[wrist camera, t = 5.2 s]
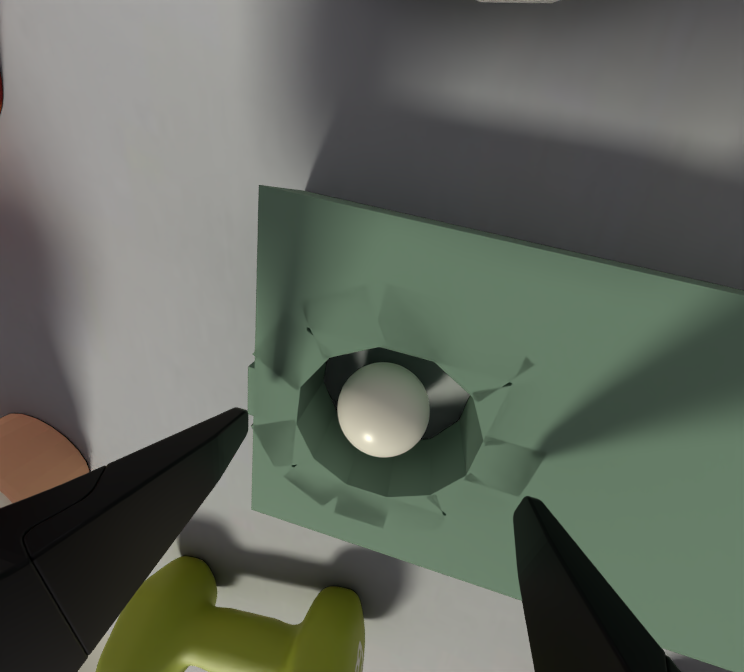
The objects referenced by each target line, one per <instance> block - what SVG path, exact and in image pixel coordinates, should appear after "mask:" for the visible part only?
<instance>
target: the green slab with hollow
mask: <svg viewBox="0 0 744 672" xmlns="http://www.w3.org/2000/svg"><path fill="white" fill-rule="evenodd" d="M376 347H381V348H385V349H389V350H393V351H396V352H400V353H404V354H407V355H411V356H415V357H418V358H422V359H426V360H429V361H433V362H435V363H436V364H437V365H438V366H439V367H440V368H441V369H443V370H444V371H445V372H446V373H447V374H448V375H449V376H450V377H451V378H452V379H453V380H454V381H456V382H457V383H458V384H459V385H460V386H461V387H462V388H463V389H464V390H465V391H466V392H467V393H469V394H470V397H469V399H468V401H467V404H466V406H465V408H464V410H463V413H462V415H461V417H460V420H459V421H458V422H456V423H454V424H453V425H451V426H450V427H448V428H447V429H445V430H444V431H442V432H441V433H439V434H438V435H436V436H435V437H433V438H432V439H426V440H419V442H418V443H417V444H416V445H415V446H413V447H412V448H411V449H410V450H408V451H406V452H405V453H402V454H400V455H397V456H393V457H376V456H371V455H368V454H366V453H364V452H362V451H360V450H359V449H357V448H356V447H355V446H353V445H352V444H351V443H350V441H349V440H348V439H347V438H346V436H345V435H344V433H343V431H342V429H341V426H340V423H339V419H338V412H337V411H336V409H335V407H334V405H333V402H332V400H331V398H330V395H329V393H328V391H327V389H326V386H325V384H324V382H323V380H324V374H325V367H326V361H327V360H328V359H329V358H330V357H335V356H340V355H344V354H349V353H353V352H358V351H362V350H367V349H372V348H376ZM253 355H254V356H255V361H254V362H253V363H252V364H251V365H250V366H249V367H248V414H250V415H253V416H254V419H253V424H252V425H251V427H252V428H253V463H252V507H251V509H252V510H255V511H257V512H260V513H263V514H266V515H269V516H272V517H275V518H278V519H281V520H284V521H287V522H290V523H293V524H296V525H299V526H302V527H305V528H308V529H311V530H314V531H317V532H320V533H323V534H326V535H329V536H332V537H335V538H338V539H340V540H343V541H346V542H349V543H352V544H355V545H358V546H361V547H364V548H367V549H370V550H373V551H376V552H379V553H382V554H385V555H388V556H391V557H394V558H397V559H400V560H403V561H406V562H409V563H412V564H415V565H418V566H421V567H424V568H426V569H429V570H432V571H435V572H438V573H441V574H444V575H447V576H450V577H453V578H456V579H459V580H462V581H465V582H468V583H471V584H474V585H477V586H480V587H483V588H486V589H489V590H492V591H495V592H498V593H501V594H504V595H507V596H509V597H512V598H515V599H518V600H521V601H522V598H521V592H520V587H519V580H518V573H517V563H516V551H515V539H514V527H513V514H514V511H515V510H516V508H517V507H518V505H519V504H520V502H521V501H522V499H523V498H524V497H525V496H530V497H534V498H537V499H540V500H541V501H542V502H543V503H544V504H545V505H546V507H547V508H548V509H549V510H550V511H551V513H552V514H553V515H554V516H555V518H556V519H557V520H558V521H559V523H560V524H561V525H562V526H563V527H564V529H565V530H566V531H567V532H568V534H569V535H570V536H571V537H572V539H573V540H574V541H575V542H576V543H577V545H578V546H579V547H580V548H581V550H582V551H583V552H584V553H585V555H586V556H587V557H588V558H589V559H590V561H591V562H592V563H593V564H594V566H595V567H596V568H597V569H598V571H599V572H600V573H601V574H602V575H603V577H604V578H605V579H606V580H607V582H608V583H609V584H610V585H611V587H612V588H613V589H614V590H615V591H616V593H617V594H618V595H619V596H620V598H621V599H622V600H623V601H624V603H625V604H626V605H627V606H628V607H629V609H630V610H631V611H632V612H633V614H634V615H635V616H636V617H637V619H638V620H639V621H640V622H641V623H642V625H643V626H644V627H645V628H646V630H647V631H648V632H649V633H650V635H651V636H652V637H653V638H654V639H655V641H656V642H657V643H658V644H659V646H660V647H661V648H664V649H667V650H670V651H673V652H676V653H678V654H681V655H684V656H687V657H690V658H693V659H696V660H699V661H702V662H705V663H708V664H711V665H714V666H717V667H720V668H723V669H726V670H729V671H732V672H744V290H739V289H735V288H730V287H726V286H722V285H717V284H713V283H708V282H704V281H700V280H695V279H691V278H686V277H682V276H678V275H673V274H669V273H664V272H660V271H655V270H651V269H647V268H642V267H638V266H633V265H629V264H625V263H620V262H616V261H611V260H607V259H603V258H598V257H594V256H589V255H585V254H580V253H576V252H572V251H567V250H563V249H558V248H554V247H550V246H545V245H541V244H536V243H532V242H528V241H523V240H519V239H514V238H510V237H505V236H501V235H497V234H492V233H488V232H483V231H479V230H475V229H470V228H466V227H461V226H457V225H453V224H448V223H444V222H439V221H435V220H430V219H426V218H422V217H417V216H413V215H408V214H404V213H400V212H395V211H391V210H386V209H382V208H378V207H373V206H369V205H364V204H360V203H355V202H351V201H347V200H342V199H338V198H333V197H329V196H325V195H320V194H316V193H311V192H307V191H301V190H294V189H286V188H278V187H270V186H263V185H259V201H258V245H257V289H256V332H255V352H254V353H253Z"/></svg>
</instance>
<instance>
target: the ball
mask: <svg viewBox="0 0 744 672" xmlns="http://www.w3.org/2000/svg"><path fill="white" fill-rule="evenodd" d="M337 410H338V419H339V423H340V426H341V429H342V431H343V433H344V435H345V436H346V438H347V439H348V440H349V441H350V443H351V444H352V445H353V446H355V447H356V448H357V449H359V450H360V451H362V452H364V453H366V454H368V455H371V456H376V457H393V456H397V455H400V454H402V453H405V452H406V451H408V450H410V449H411V448H412V447H413V446H415V445H416V444H417V443H418V442H419V440H420V439H421V438H422V436H423V434H424V433H425V431H426V428H427V425H428V422H429V416H430V404H429V399H428V395H427V392H426V390H425V388H424V386H423V384H422V383H421V381H420V380H419V379H418V378H417V377H416V376H415V375H414V374H413V373H412V372H411V371H409V370H408V369H406V368H404V367H402V366H400V365H397V364H394V363H389V362H378V363H372V364H369V365H366V366H364V367H362V368H360V369H359V370H357V371H356V372H355V373H354V374H352V375H351V376H350V377H349V378H348V380H347V381H346V383H345V384H344V386H343V388H342V390H341V393H340V395H339V399H338V407H337Z"/></svg>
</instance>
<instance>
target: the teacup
mask: <svg viewBox="0 0 744 672" xmlns="http://www.w3.org/2000/svg"><path fill="white" fill-rule="evenodd" d="M477 1H479V2H494V3H554V2H557V1H560V0H477Z"/></svg>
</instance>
